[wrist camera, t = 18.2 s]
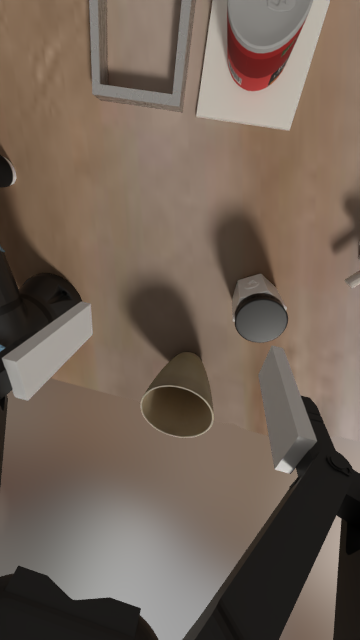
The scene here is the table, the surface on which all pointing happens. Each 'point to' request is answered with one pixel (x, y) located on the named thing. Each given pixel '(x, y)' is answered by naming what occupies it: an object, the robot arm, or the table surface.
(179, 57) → the square frame
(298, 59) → the tile
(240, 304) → the jar
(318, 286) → the table surface
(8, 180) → the dixie cup
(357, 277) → the light grey toy jack
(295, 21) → the canned food
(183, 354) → the plant pot
